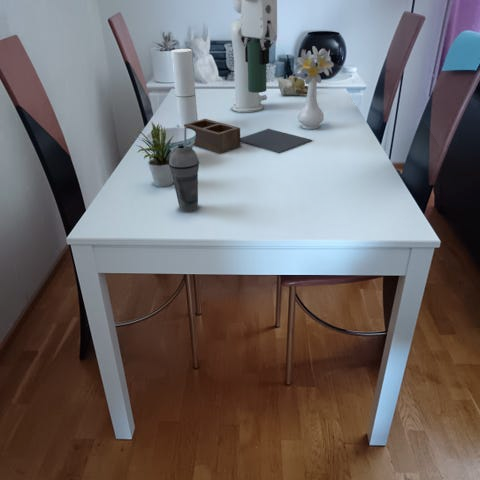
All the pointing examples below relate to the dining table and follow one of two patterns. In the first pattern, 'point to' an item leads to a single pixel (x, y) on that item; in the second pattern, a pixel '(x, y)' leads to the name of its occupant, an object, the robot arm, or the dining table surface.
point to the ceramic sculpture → (292, 85)
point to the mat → (274, 140)
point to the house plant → (159, 156)
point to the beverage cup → (185, 176)
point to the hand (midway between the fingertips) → (257, 62)
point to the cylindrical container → (184, 86)
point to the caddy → (215, 135)
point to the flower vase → (313, 84)
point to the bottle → (255, 67)
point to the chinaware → (176, 138)
